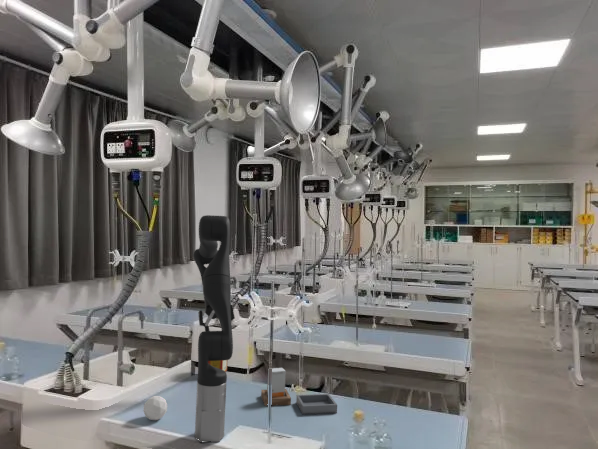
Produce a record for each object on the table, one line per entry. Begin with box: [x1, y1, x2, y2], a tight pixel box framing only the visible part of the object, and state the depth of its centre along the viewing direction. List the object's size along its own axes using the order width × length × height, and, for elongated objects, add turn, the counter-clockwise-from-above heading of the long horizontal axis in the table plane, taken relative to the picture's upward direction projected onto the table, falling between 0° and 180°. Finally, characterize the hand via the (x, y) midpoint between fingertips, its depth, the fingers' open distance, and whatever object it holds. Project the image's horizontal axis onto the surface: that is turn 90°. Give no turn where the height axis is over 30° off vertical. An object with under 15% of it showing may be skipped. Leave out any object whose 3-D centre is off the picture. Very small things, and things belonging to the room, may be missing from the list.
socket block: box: [260, 388, 292, 407], centre depth 175 cm, size 10×10×2 cm
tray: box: [295, 393, 338, 416], centre depth 169 cm, size 11×13×3 cm
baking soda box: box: [208, 360, 229, 373], centre depth 204 cm, size 10×6×16 cm
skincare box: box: [266, 367, 287, 397], centre depth 175 cm, size 6×4×12 cm
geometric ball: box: [142, 395, 168, 421], centre depth 153 cm, size 8×8×8 cm
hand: (219, 333), depth 182 cm, fingers open, 8 cm apart
